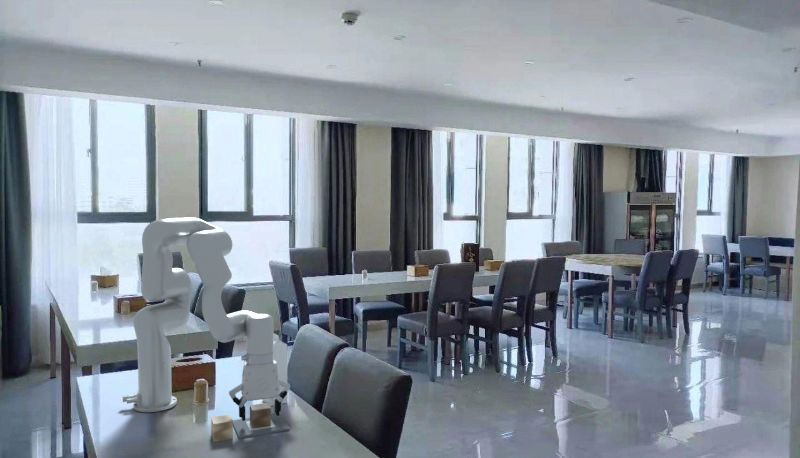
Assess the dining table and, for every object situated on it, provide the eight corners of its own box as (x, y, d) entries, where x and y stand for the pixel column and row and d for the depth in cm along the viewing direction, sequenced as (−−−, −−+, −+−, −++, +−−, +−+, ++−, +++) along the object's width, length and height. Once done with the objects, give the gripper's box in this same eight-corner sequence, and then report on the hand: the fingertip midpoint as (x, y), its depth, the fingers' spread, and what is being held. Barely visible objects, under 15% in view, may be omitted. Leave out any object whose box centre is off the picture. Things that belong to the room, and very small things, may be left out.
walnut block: (253, 428, 164) (252, 411, 164) (249, 422, 169) (249, 405, 168) (270, 425, 166) (270, 408, 166) (267, 419, 171) (267, 402, 170)
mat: (238, 438, 159) (238, 436, 159) (232, 422, 170) (232, 420, 170) (289, 430, 165) (289, 428, 165) (280, 415, 176) (280, 413, 176)
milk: (270, 406, 183) (269, 337, 181) (262, 401, 188) (261, 333, 186) (287, 402, 187) (287, 334, 185) (279, 397, 191) (279, 330, 190)
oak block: (213, 442, 157) (213, 423, 157) (211, 435, 161) (211, 417, 161) (232, 439, 159) (232, 421, 159) (230, 432, 164) (229, 414, 163)
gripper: (230, 364, 159) (231, 426, 160) (293, 358, 166) (293, 416, 167) (226, 357, 166) (227, 416, 167) (287, 351, 173) (287, 408, 174)
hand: (260, 416), depth 167 cm, fingers open, 9 cm apart
